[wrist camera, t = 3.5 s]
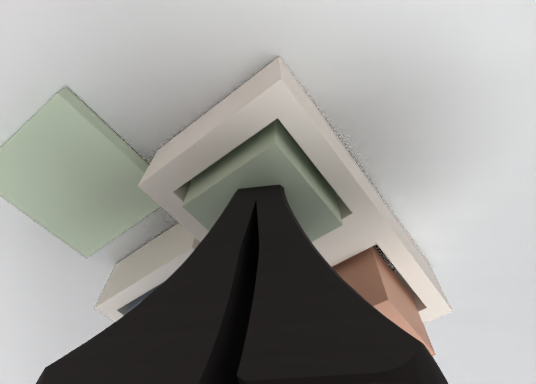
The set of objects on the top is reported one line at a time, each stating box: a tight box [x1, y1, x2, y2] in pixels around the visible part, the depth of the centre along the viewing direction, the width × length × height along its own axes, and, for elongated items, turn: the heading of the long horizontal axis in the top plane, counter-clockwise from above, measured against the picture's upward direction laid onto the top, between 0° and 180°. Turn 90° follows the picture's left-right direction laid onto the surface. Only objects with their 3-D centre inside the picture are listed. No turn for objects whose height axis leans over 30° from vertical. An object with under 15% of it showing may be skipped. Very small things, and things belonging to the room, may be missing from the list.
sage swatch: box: [0, 87, 160, 259], centre depth 14 cm, size 5×5×1 cm
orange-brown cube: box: [332, 246, 435, 356], centre depth 14 cm, size 3×3×3 cm
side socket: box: [94, 223, 200, 322], centre depth 16 cm, size 5×5×2 cm
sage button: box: [182, 118, 343, 242], centre depth 12 cm, size 3×3×3 cm
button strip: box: [138, 56, 453, 324], centre depth 14 cm, size 5×11×2 cm, turn 37°
